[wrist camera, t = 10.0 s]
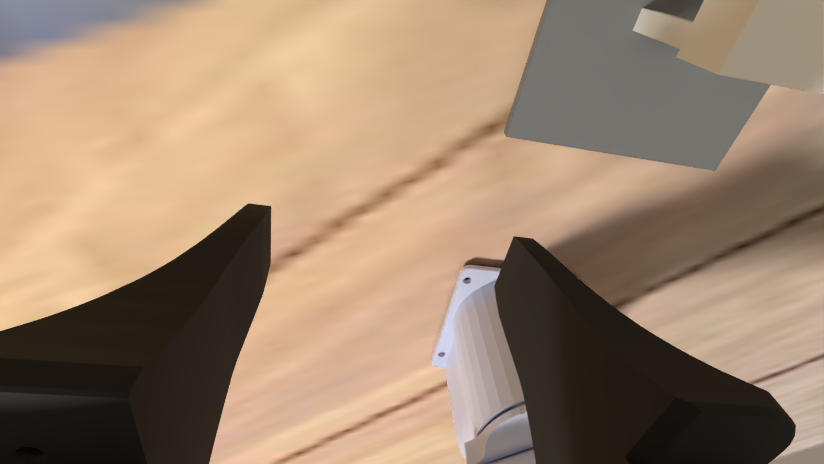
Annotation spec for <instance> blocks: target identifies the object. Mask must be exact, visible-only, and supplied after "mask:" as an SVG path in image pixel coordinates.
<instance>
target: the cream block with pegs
mask: <svg viewBox="0 0 824 464" xmlns="http://www.w3.org/2000/svg"><path fill="white" fill-rule="evenodd" d="M633 31H635V32H638V33H640V34H643V35H645V36H648V37H651V38H653V39H656V40H658V41H661V42H663V43H666V44H669V45H671V46H674V47H676V48H679V49H680V50H679V52H678V54H677V56H676V57H677V58H680V59H682V60H684V61H687V62H689V63H691V64H694V65H696V66H699V67H701V68H703V69H706V70H708V71H711V72H713V73H715V74H718V75H723V76H728V77H734V78H739V79H744V80H750V81H755V82H761V83H766V84H771V85H777V86H782V87H787V88H793V89H798V90H804V91H809V92H814V93H820V94H824V0H704V1H703V3H702V5H701V7H700V9H699V11H698V13H697V15H696V17H695V19H694V21H691V20H687V19H684V18H680V17H677V16H673V15H670V14H666V13H663V12H658V11H654V10H649V9H644V8H642V10H641V12H640V14H639V17H638V19H637V21H636V24H635V26H634V28H633Z"/></svg>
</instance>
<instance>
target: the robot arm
mask: <svg viewBox="0 0 824 464" xmlns="http://www.w3.org/2000/svg"><path fill="white" fill-rule="evenodd" d="M270 261H271V206H265V205H257V204H247V205H246V206H244V207H243V208H242V209H241V210H239V211H238V212H237V213H236V214H235V215H233V216H232V217H231V218H230V219H229V220H227V221H226V222H225V223H224V224H222V225H221V226H220V227H219V228H217V229H216V230H215V231H213V232H212V233H211V234H210V235H208V236H207V237H206V238H204V239H203V240H202V241H200V242H199V243H198V244H196V245H195V246H193V247H192V248H190V249H189V250H187V251H186V252H184V253H183V254H181V255H180V256H179V257H177V258H176V259H174V260H172V261H171V262H169V263H167V264H166V265H164V266H162V267H160V268H159V269H157V270H155V271H153V272H151V273H149V274H148V275H146V276H144V277H142V278H140V279H138V280H136V281H134V282H132V283H129V284H127V285H125V286H123V287H121V288H119V289H116V290H114V291H112V292H110V293H108V294H106V295H103V296H101V297H99V298H96V299H94V300H91V301H89V302H86V303H84V304H81V305H79V306H76V307H73V308H71V309H68V310H65V311H62V312H60V313H57V314H54V315H51V316H48V317H45V318H42V319H39V320H36V321H33V322H29V323H26V324H23V325H19V326H16V327H13V328H10V329H6V330H3V331H0V464H209V461H210V457H211V453H212V449H213V445H214V441H215V437H216V433H217V429H218V426H219V422H220V418H221V414H222V410H223V406H224V403H225V399H226V395H227V392H228V388H229V384H230V381H231V377H232V374H233V371H234V368H235V365H236V362H237V359H238V356H239V354H240V351H241V349H242V346H243V344H244V341H245V338H246V336H247V333H248V331H249V328H250V326H251V323H252V321H253V318H254V316H255V313H256V310H257V308H258V305H259V303H260V300H261V298H262V295H263V292H264V288H265V284H266V280H267V276H268V272H269V267H270ZM468 277H469V279H467V280H464V279H465V278H468ZM440 352H441V353H440ZM431 362H432V365H433V366H434V367H437V368H445V371H446V378H447V384H448V391H449V397H450V404H451V410H452V417H453V423H454V430H455V436H456V441H457V444H458V447H459V449H460V451H461V453H462V455H463V457H464V458H465V460H466V461H467V464H768V463H769V462H771V461H772V460H773V459H774V458H776V457H777V456H778V455H779V454H781V453H782V452H783V451H784V450H785V449H786V448H787V447H788V446H789V445H790V443H791V442H792V440H793V438H794V436H795V428H796V425H795V423H794V422H793V420H792V419H791V418H790V417H789V415H788V414H787V413H786V412H785V411H784V409H783V408H782V407H781V406H780V405H779V404H778V402H777V401H776V400H775V399H774V398H773V396H772V395H771V394H770V393H769V392H767V391H765V390H763V389H761V388H759V387H756V386H754V385H752V384H749V383H747V382H745V381H743V380H740V379H738V378H736V377H734V376H731V375H729V374H727V373H725V372H722V371H720V370H718V369H716V368H714V367H712V366H710V365H708V364H706V363H704V362H702V361H700V360H698V359H696V358H694V357H692V356H691V355H689V354H687V353H685V352H683V351H681V350H680V349H678V348H676V347H674V346H672V345H671V344H669V343H667V342H666V341H664V340H662V339H661V338H659V337H657V336H656V335H654V334H652V333H651V332H649V331H648V330H646V329H644V328H643V327H641V326H640V325H638V324H637V323H635V322H634V321H632V320H631V319H630V318H628V317H627V316H625V315H624V314H622V313H621V312H619V311H618V310H617V309H615V308H614V307H613V306H611V305H610V304H609V303H608V302H606V301H605V300H604V299H603V298H601V297H600V296H599V295H598V294H596V293H595V292H594V291H593V290H591V289H590V288H589V287H588V286H587V285H585V284H584V283H583V282H582V281H581V280H580V279H579V278H578V277H576V276H575V275H574V274H573V273H572V272H570V271H569V270H568V269H567V268H566V267H565V266H564V265H563V264H562V263H560V262H559V261H558V260H557V259H556V258H555V257H554V256H553V255H552V254H550V253H549V252H548V251H547V250H546V249H545V248H544V247H542V246H541V245H540V244H539V243H538V242H536V241H535V240H534V239H531V238H523V237H515V236H514V237H513V240H512V242H511V245H510V247H509V250H508V253H507V255H506V258H505V260H504V263H503V265H502V268H495V267H486V266H477V265H466V266H464V267H462V269H461V271H460V274H459V277H458V280H457V283H456V286H455V289H454V292H453V295H452V298H451V301H450V304H449V307H448V310H447V313H446V316H445V319H444V322H443V326H442V329H441V332H440V335H439V338H438V341H437V344H436V347H435V350H434V353H433V356H432V359H431Z"/></svg>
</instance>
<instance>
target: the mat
mask: <svg viewBox="0 0 824 464" xmlns="http://www.w3.org/2000/svg"><path fill="white" fill-rule="evenodd" d="M703 1H704V0H547V2H546V5H545V8H544V11H543V14H542V17H541V20H540V23H539V26H538V29H537V32H536V35H535V38H534V42H533V45H532V48H531V51H530V54H529V57H528V60H527V63H526V66H525V69H524V72H523V75H522V78H521V82H520V85H519V88H518V91H517V94H516V97H515V100H514V103H513V106H512V109H511V112H510V115H509V118H508V122H507V125H506V128H505V131H504V133H505V135H506V136H507V137H511V138H517V139H523V140H529V141H535V142H542V143H548V144H554V145H560V146H566V147H572V148H578V149H585V150H591V151H597V152H603V153H609V154H615V155H621V156H628V157H634V158H640V159H646V160H652V161H658V162H664V163H670V164H677V165H683V166H689V167H695V168H701V169H707V170H713V171H715V170H716V169H717V167H718V166H719V164H720V163H721V161H722V159H723V158H724V156H725V155H726V153H727V152H728V150H729V149H730V147H731V145H732V144H733V142H734V141H735V139H736V138H737V136H738V135H739V133H740V131H741V130H742V128H743V127H744V125H745V124H746V122H747V121H748V119H749V118H750V116H751V114H752V113H753V111H754V110H755V108H756V107H757V105H758V104H759V102H760V100H761V99H762V97H763V96H764V94H765V93H766V91H767V90H768V88H769V87H770V85H771V84H766V83H761V82H755V81H750V80H744V79H739V78H734V77H728V76H723V75H718V74H715V73H713V72H711V71H708V70H706V69H703V68H701V67H699V66H696V65H694V64H691V63H689V62H687V61H684V60H682V59H680V58H677V57H676V56H677V54H678V52H679V50H680V49H679V48H676V47H674V46H671V45H669V44H666V43H663V42H661V41H658V40H656V39H653V38H651V37H648V36H645V35H643V34H640V33H638V32H635V31H633V28H634V26H635V24H636V21H637V19H638V17H639V14H640V12H641V10H642V8H644V9H649V10H654V11H658V12H663V13H666V14H670V15H673V16H677V17H680V18H684V19H687V20H691V21H694V19H695V17H696V15H697V13H698V11H699V9H700V7H701V5H702V3H703Z"/></svg>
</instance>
